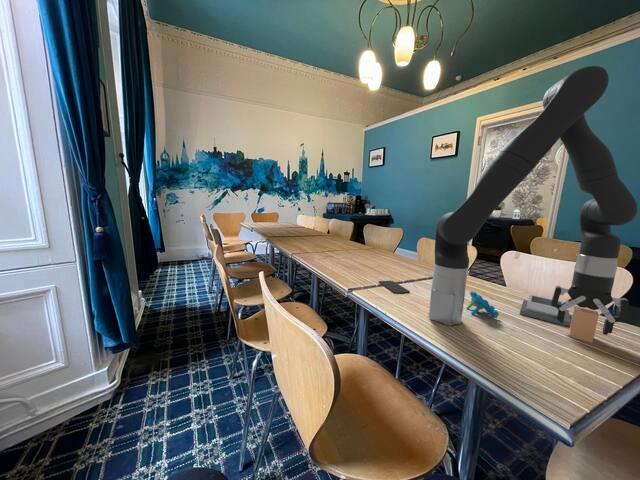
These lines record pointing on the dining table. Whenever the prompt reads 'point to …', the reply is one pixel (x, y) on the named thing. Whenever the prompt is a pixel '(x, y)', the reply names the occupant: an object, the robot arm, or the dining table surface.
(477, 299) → the blue toy figure
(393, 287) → the phone
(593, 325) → the tan rectangular block
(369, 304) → the dining table surface
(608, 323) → the robot arm
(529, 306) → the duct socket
